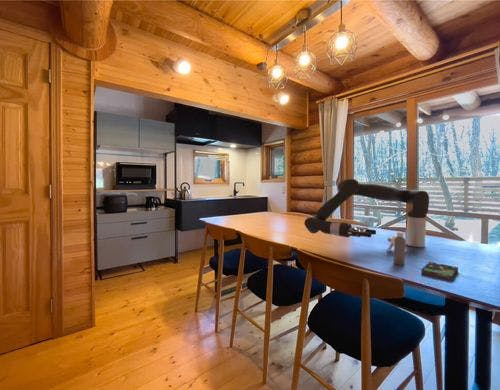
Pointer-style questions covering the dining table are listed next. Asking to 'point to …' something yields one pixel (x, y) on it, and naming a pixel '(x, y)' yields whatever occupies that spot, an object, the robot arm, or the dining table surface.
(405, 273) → the dining table surface
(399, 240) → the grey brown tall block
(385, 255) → the dining table surface
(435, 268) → the disk drive
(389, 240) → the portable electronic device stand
